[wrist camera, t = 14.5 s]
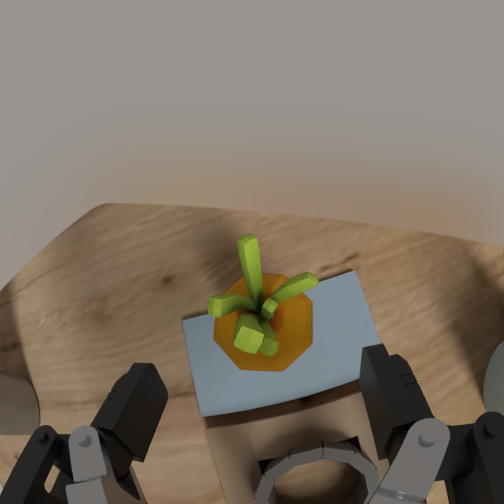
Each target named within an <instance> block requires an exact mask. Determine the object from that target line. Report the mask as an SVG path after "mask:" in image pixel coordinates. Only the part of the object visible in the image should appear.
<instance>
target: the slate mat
mask: <svg viewBox="0 0 504 504" xmlns="http://www.w3.org/2000/svg"><path fill="white" fill-rule="evenodd" d="M303 293H304V294H305V295H306V296H307V297H308V298H309V299H310V300H311V301H312V302H313V343H312V345H311V346H310V347H309V348H308V349H307V350H306V351H305V352H304V353H303V354H302V355H301V356H300V357H299V358H298V359H297V360H295V361H294V362H293V363H292V364H291V365H290V366H289V367H288V368H287V369H286V370H285V371H283V372H272V371H248V370H240V369H239V368H238V367H237V366H236V365H235V364H234V363H233V361H232V360H231V359H230V358H229V357H228V356H227V355H226V353H225V352H224V351H223V350H222V349H221V348H220V347H219V345H218V344H217V343H216V342H215V341H214V339H213V332H214V321H215V317H212V316H210V315H208V314H206V315H202V316H198V317H194V318H190V319H186V320H182V321H183V327H184V333H185V339H186V345H187V350H188V355H189V361H190V366H191V371H192V376H193V380H194V385H195V390H196V394H197V398H198V403H199V407H200V411H201V415H202V417H206V416H213V415H220V414H227V413H233V412H239V411H244V410H249V409H255V408H259V407H264V406H269V405H273V404H277V403H281V402H286V401H289V400H293V399H297V398H301V397H304V396H308V395H311V394H315V393H318V392H321V391H325V390H328V389H331V388H334V387H337V386H340V385H343V384H346V383H348V382H351V381H354V380H357V379H359V376H360V366H361V355H362V348H363V347H367V346H372V345H377V344H381V343H380V340H379V337H378V334H377V331H376V328H375V325H374V322H373V319H372V316H371V313H370V310H369V307H368V305H367V302H366V299H365V296H364V294H363V291H362V288H361V286H360V283H359V280H358V278H357V275H356V273H355V270H354V271H351V272H348V273H345V274H342V275H339V276H336V277H333V278H330V279H327V280H324V281H321V282H319V284H318V285H317V286H315V287H313V288H311V289H309V290H307V291H304V292H303Z"/></svg>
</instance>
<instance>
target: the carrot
mask: <svg viewBox="0 0 504 504" xmlns="http://www.w3.org/2000/svg"><path fill="white" fill-rule="evenodd" d="M237 250H238V255H239V260H240V264H241V268H242V271H243V275H244V276H242V277H241V278H240V279H239V280H238V281H237V282H236V283H235V284H234V285H232V286H231V287H230V288H229V289H228V290H227V291H226V292H225V293H224V294H220V295H216V296H213V297H210V299H209V303H208V315H210V316H212V317H215V321H214V332H213V339H214V341H215V342H216V343H217V344H218V345H219V347H220V348H221V349H222V350H223V351H224V352H225V353H226V355H227V356H228V357H229V358H230V359H231V360H232V361H233V363H234V364H235V365H236V366H237V367H238V368H239V369H240V370H248V371H272V372H283V371H285V370H286V369H287V368H288V367H289V366H290V365H291V364H292V363H293V362H294V361H295V360H297V359H298V358H299V357H300V356H301V355H302V354H303V353H304V352H305V351H306V350H307V349H308V348H309V347H310V346H311V345H312V343H313V302H312V301H311V300H310V299H309V298H308V297H307V296H306V295H305V294H304V293H303V292H304V291H307V290H309V289H311V288H313V287H315V286H317V285H318V284H319V281H318V279H317V277H316V276H315V275H314V274H312V273H310V272H305V273H302V274H299V275H297V276H295V277H293V278H291V279H288V278H287V277H286V276H285V275H283V274H262V272H261V261H260V253H259V246H258V242H257V237H255V236H254V235H253V234H248V235H245V236H243V237H241V238H240V239H239V240H238V241H237Z"/></svg>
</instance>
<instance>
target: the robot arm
mask: <svg viewBox="0 0 504 504" xmlns="http://www.w3.org/2000/svg"><path fill="white" fill-rule="evenodd" d="M359 380H360V389H361V393H362V396H363V400H364V404H365V407H366V411H367V415H368V419H369V422H370V426H371V430H372V434H373V439H374V443H375V447H376V451H377V456H378V460H383V459H387V458H388V463H389V468H388V470H387V472H386V474H385V475H384V477H383V479H382V481H381V482H380V484H379V486H378V487H377V489H376V490H375V492H374V493H373V495H372V497H371V498H370V500H369V501H368V503H367V504H427V501H426V498H427V495H428V493H429V491H430V489H431V487H432V485H433V482H434V481H440V480H444V481H445V485H446V490H447V495H448V500H449V504H504V416H503V415H502V414H501V413H498V412H494V411H490V412H486V413H484V414H482V415H481V416H480V417H479V418H478V419H477V420H476V422H475V423H472V424H465V425H457V426H450V425H446V424H445V423H444V422H442V421H441V420H438V419H435V417H434V416H433V414H432V412H431V410H430V408H429V406H428V403H427V401H426V399H425V397H424V395H423V393H422V390H421V388H420V386H419V384H418V383H417V380H416V378H415V376H414V374H413V372H412V370H411V368H410V366H409V364H408V362H407V361H406V360H405V359H403V358H402V357H401V356H400V355H398V354H395V355H391V356H389V354H388V352H387V350H386V348H385V346H384V344H382V343H381V344H377V345H372V346H367V347H363V348H362V355H361V366H360V376H359ZM167 400H168V392H167V389H166V387H165V385H164V383H163V381H162V379H161V377H160V375H159V373H158V371H157V370H156V368H155V366H154V365H153V364H152V363H134V364H133V365H132V366H131V368H130V370H129V371H128V373H127V374H124V375H123V376H122V377H121V378H120V379H119V380H117V381H116V383H115V385H114V386H113V388H112V389H111V392H110V393H109V394H108V396H107V399H105V401H104V403H103V405H102V406H101V408H100V410H99V411H98V413H97V415H96V416H95V418H94V420H93V422H92V423H91V425H90V426H81V427H79V428H77V429H75V430H74V431H73V432H72V434H58V433H57V432H56V431H55V430H54V429H53V428H52V427H51V426H48V425H43V426H41V427H39V421H40V419H39V407H38V402H37V398H36V395H35V392H34V390H33V387H32V385H31V384H30V382H29V381H28V379H27V378H26V377H24V376H22V375H19V374H14V373H9V372H4V371H0V435H32V436H31V438H30V439H29V441H28V443H27V445H26V446H25V448H24V450H23V452H22V453H21V455H20V457H19V459H18V461H17V463H16V464H15V466H14V468H13V470H12V472H11V474H10V476H9V478H8V480H7V482H6V484H5V486H4V488H3V490H2V493H1V495H0V504H148V503H147V501H146V499H145V497H144V494H143V492H142V490H141V487H140V485H139V482H138V480H137V477H136V474H135V472H134V469H133V467H132V466H131V463H132V460H134V461H139V462H144V459H145V457H146V454H147V451H148V449H149V446H150V444H151V441H152V439H153V436H154V433H155V431H156V428H157V426H158V423H159V421H160V418H161V416H162V413H163V411H164V408H165V406H166V403H167ZM38 427H39V428H38ZM53 465H54V466H55V467H57V468H58V469H59V470H60V472H59V474H58V477H57V479H56V481H55V483H54V486H53V488H52V490H51V492H50V493H48V492H47V491H46V490H45V487H44V483H45V481H46V478H47V476H48V474H49V472H50V470H51V468H52V466H53Z"/></svg>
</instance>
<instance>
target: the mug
mask: <svg viewBox="0 0 504 504" xmlns="http://www.w3.org/2000/svg"><path fill="white" fill-rule="evenodd" d="M483 398H484V404H485V408H486V411H487V412H490V411H494V412H498V413H501V414H502V415H503V416H504V340H503V341H502V342H501V343H500V344H499V346H498V347H497V348H496V350H495V351H494V353H493V355H492V357H491V359H490V361H489V364H488V367H487V370H486V374H485V379H484V387H483Z"/></svg>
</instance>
